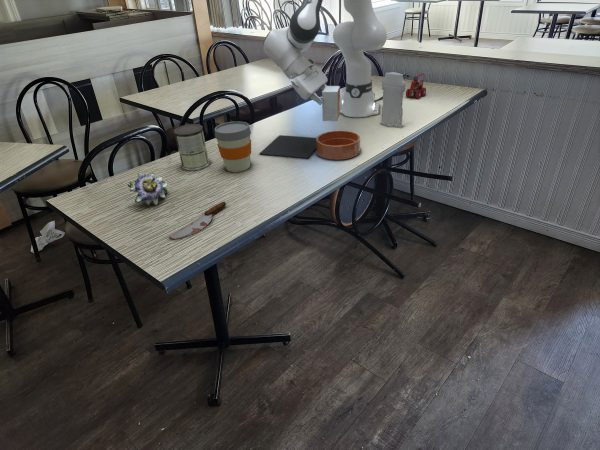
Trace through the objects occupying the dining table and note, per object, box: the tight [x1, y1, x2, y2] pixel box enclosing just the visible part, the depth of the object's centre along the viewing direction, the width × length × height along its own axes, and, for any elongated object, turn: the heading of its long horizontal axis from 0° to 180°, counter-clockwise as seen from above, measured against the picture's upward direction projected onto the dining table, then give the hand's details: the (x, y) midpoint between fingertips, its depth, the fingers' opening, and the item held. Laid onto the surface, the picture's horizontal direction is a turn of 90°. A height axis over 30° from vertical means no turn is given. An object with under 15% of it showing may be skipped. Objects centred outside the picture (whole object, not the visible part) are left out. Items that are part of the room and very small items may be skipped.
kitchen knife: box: [169, 201, 227, 240], centre depth 121 cm, size 21×2×5 cm
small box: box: [321, 85, 341, 122], centre depth 150 cm, size 8×6×10 cm
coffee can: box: [173, 123, 210, 171], centre depth 154 cm, size 10×10×14 cm
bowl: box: [315, 130, 361, 161], centre depth 158 cm, size 16×16×6 cm
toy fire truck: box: [405, 73, 427, 99], centre depth 211 cm, size 7×12×10 cm, turn 139°
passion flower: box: [127, 171, 168, 206], centre depth 134 cm, size 11×11×12 cm
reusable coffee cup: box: [214, 121, 252, 173], centre depth 149 cm, size 13×13×15 cm
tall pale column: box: [380, 71, 407, 128], centre depth 174 cm, size 11×4×22 cm, turn 51°
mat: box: [259, 134, 317, 160], centre depth 166 cm, size 20×20×1 cm
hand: (326, 99), depth 150 cm, fingers closed on small box, 8 cm apart
